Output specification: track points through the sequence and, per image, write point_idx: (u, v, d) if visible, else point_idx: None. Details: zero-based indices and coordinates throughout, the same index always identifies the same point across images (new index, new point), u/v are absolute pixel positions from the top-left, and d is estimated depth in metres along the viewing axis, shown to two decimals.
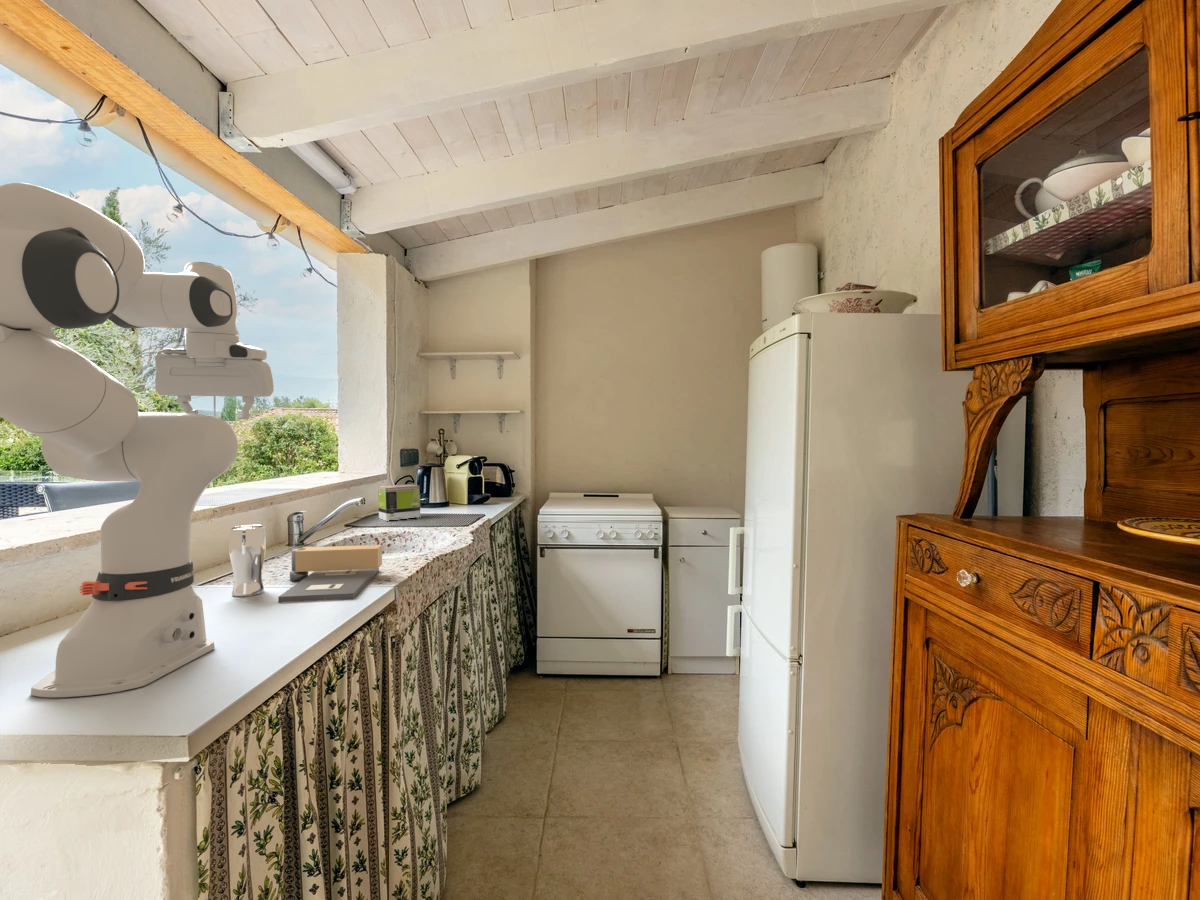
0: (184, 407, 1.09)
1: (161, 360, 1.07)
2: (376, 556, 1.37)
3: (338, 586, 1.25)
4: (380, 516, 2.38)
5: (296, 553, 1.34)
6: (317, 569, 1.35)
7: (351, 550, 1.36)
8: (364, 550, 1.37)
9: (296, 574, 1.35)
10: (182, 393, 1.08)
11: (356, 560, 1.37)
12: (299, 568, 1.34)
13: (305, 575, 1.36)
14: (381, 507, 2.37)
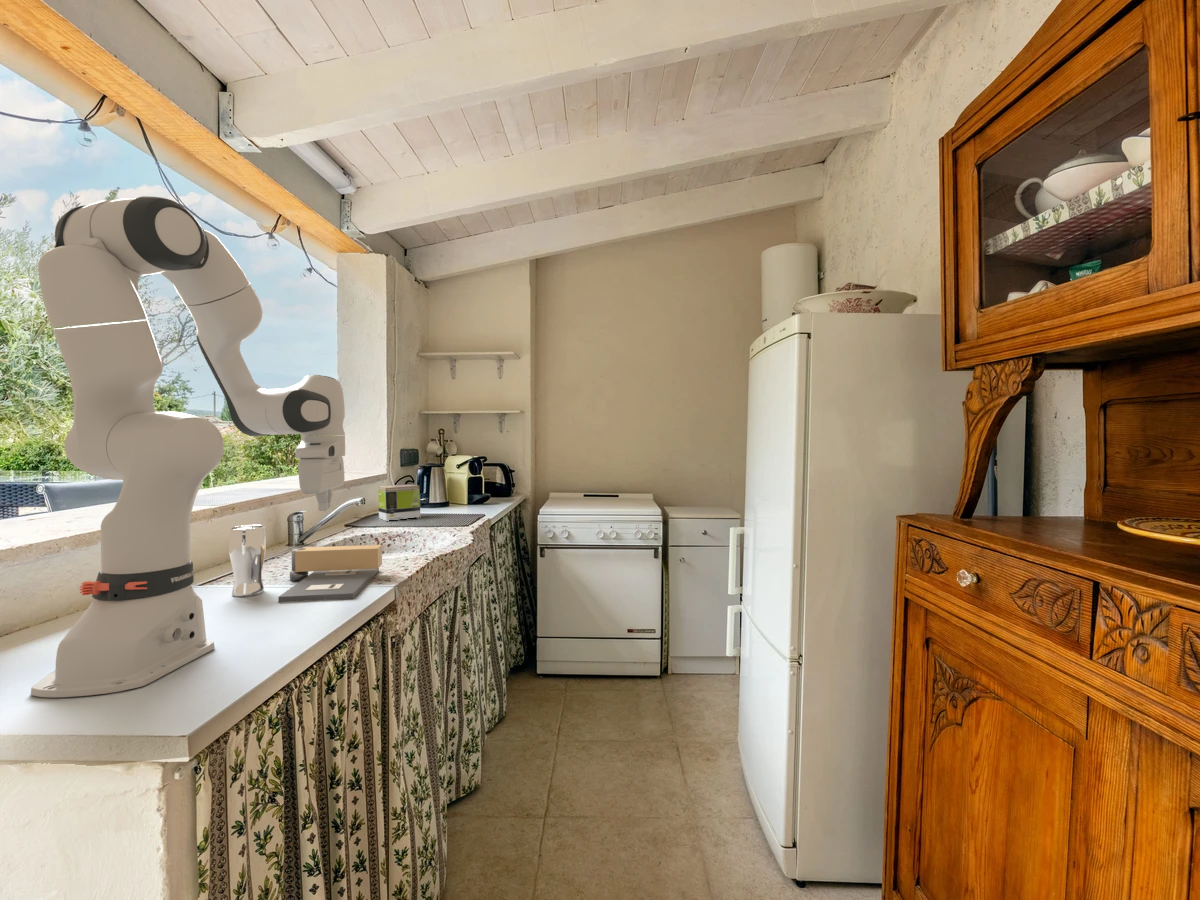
0: None
1: None
2: (376, 556, 1.37)
3: (338, 586, 1.25)
4: (380, 516, 2.38)
5: (296, 553, 1.34)
6: (317, 569, 1.35)
7: (351, 550, 1.36)
8: (364, 550, 1.37)
9: (296, 574, 1.35)
10: None
11: (356, 560, 1.37)
12: (299, 568, 1.34)
13: (305, 575, 1.36)
14: (381, 507, 2.37)
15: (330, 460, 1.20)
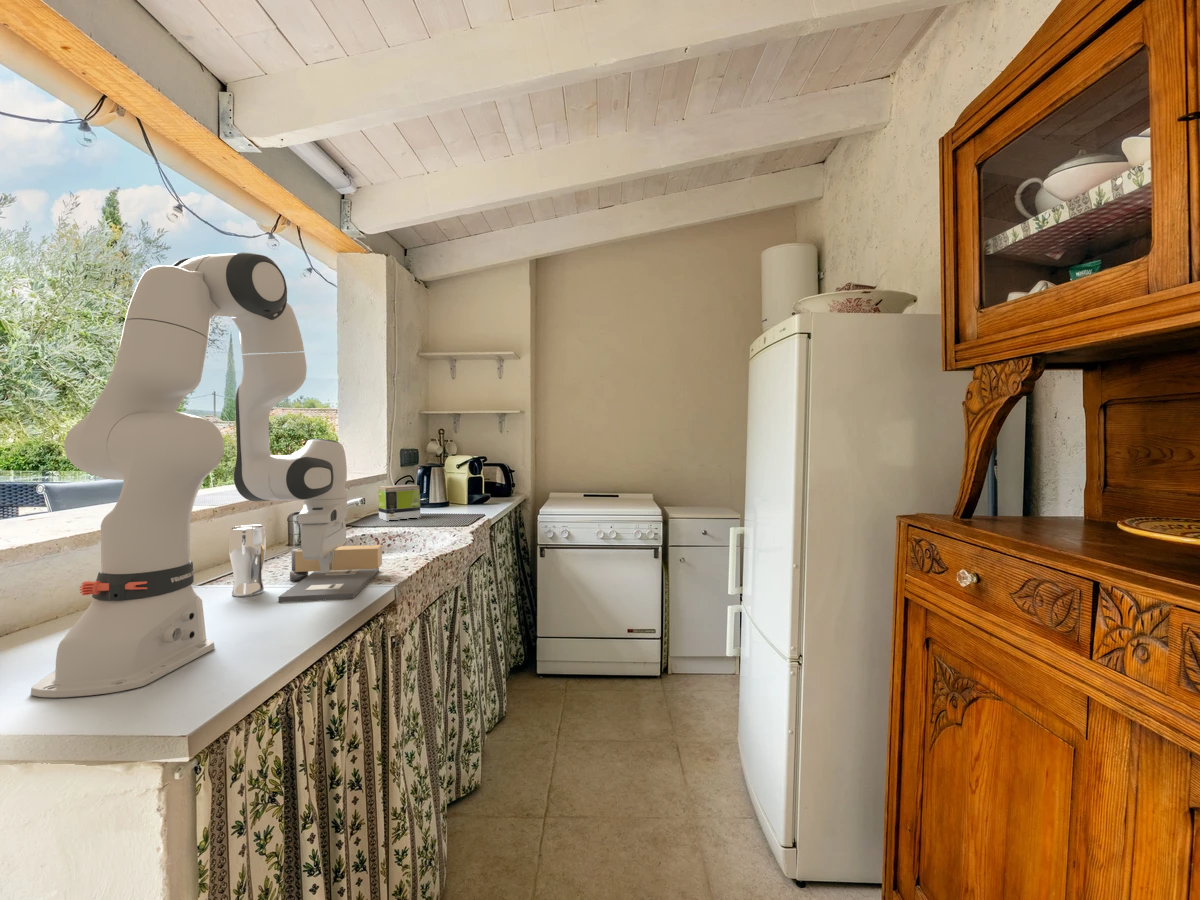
0: None
1: None
2: (376, 556, 1.37)
3: (338, 586, 1.25)
4: (380, 516, 2.38)
5: (296, 553, 1.34)
6: (317, 569, 1.35)
7: (351, 550, 1.36)
8: (364, 550, 1.37)
9: (296, 574, 1.35)
10: None
11: (356, 560, 1.37)
12: (299, 568, 1.34)
13: (305, 575, 1.36)
14: (381, 507, 2.37)
15: (332, 524, 1.21)
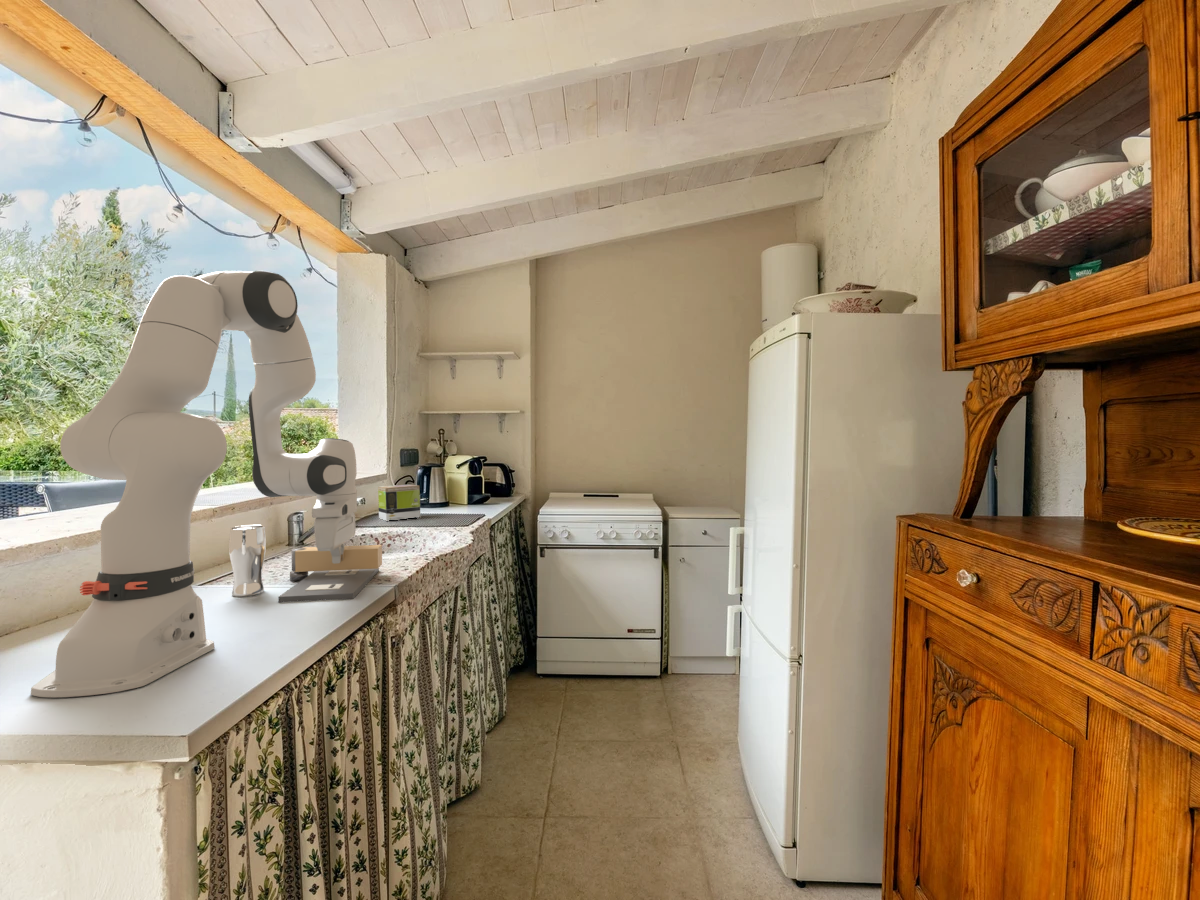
0: None
1: None
2: (376, 556, 1.37)
3: (338, 586, 1.25)
4: (380, 516, 2.38)
5: (296, 553, 1.34)
6: (317, 569, 1.35)
7: (351, 550, 1.36)
8: (364, 550, 1.37)
9: (296, 574, 1.35)
10: None
11: (356, 560, 1.37)
12: (299, 568, 1.34)
13: (305, 575, 1.36)
14: (381, 507, 2.37)
15: (343, 518, 1.29)
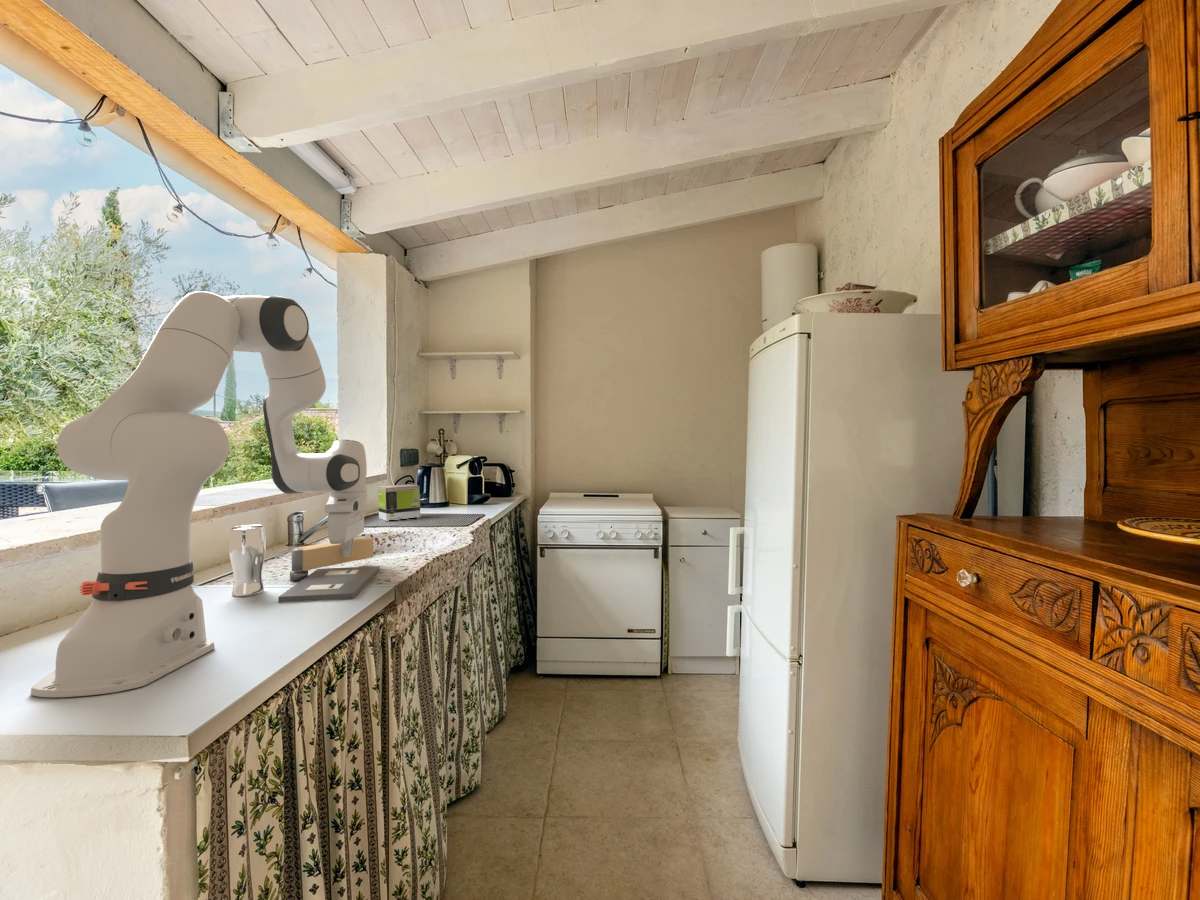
0: None
1: None
2: (372, 546, 1.51)
3: (338, 586, 1.25)
4: (380, 516, 2.38)
5: (305, 552, 1.35)
6: (324, 565, 1.39)
7: None
8: (362, 541, 1.49)
9: (296, 574, 1.35)
10: None
11: (356, 552, 1.47)
12: (308, 566, 1.36)
13: (305, 575, 1.36)
14: (381, 507, 2.37)
15: (354, 514, 1.39)
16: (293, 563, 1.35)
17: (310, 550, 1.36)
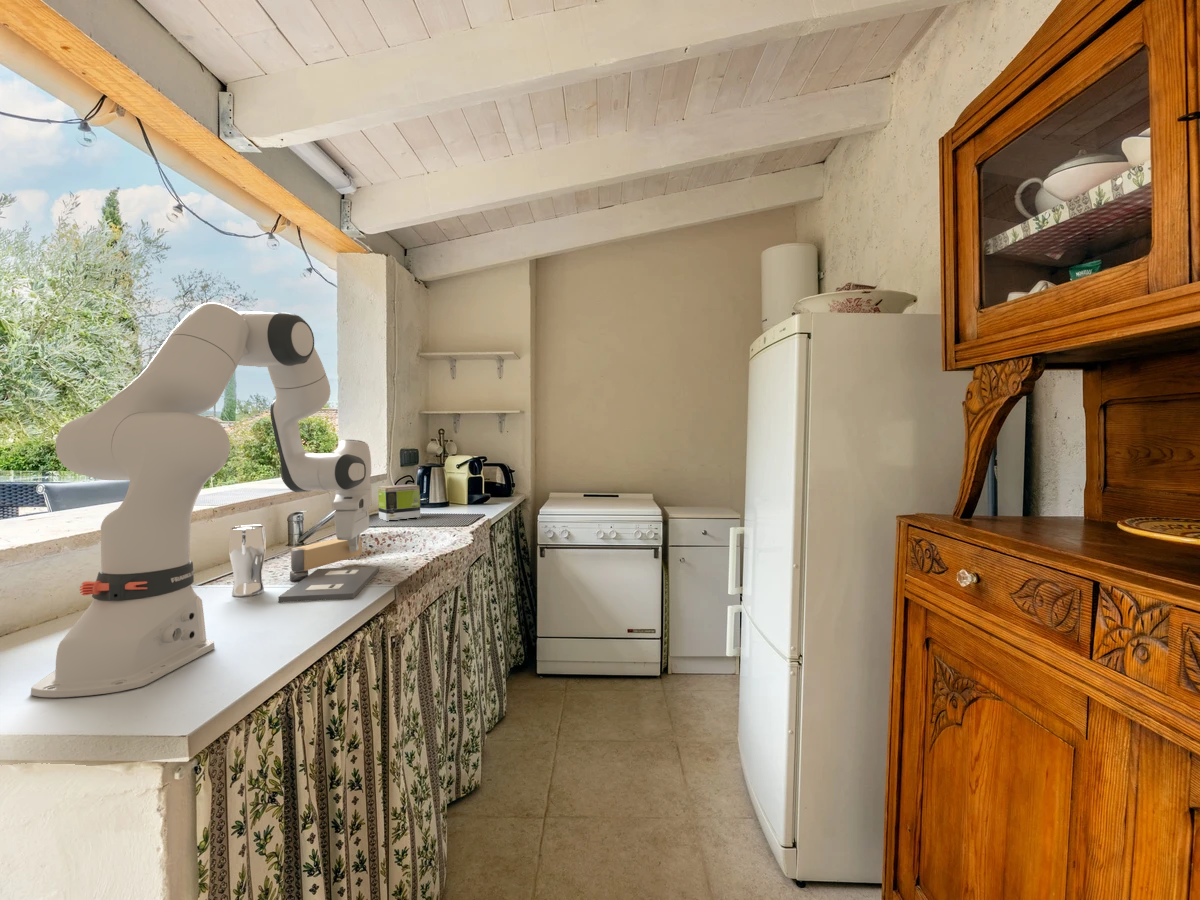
0: None
1: None
2: (360, 544, 1.54)
3: (338, 586, 1.25)
4: (380, 516, 2.38)
5: (307, 551, 1.36)
6: (322, 564, 1.41)
7: (345, 541, 1.48)
8: None
9: (296, 574, 1.35)
10: None
11: (348, 550, 1.49)
12: (310, 566, 1.37)
13: (305, 575, 1.36)
14: (381, 507, 2.37)
15: (360, 511, 1.44)
16: (294, 563, 1.35)
17: (311, 549, 1.37)
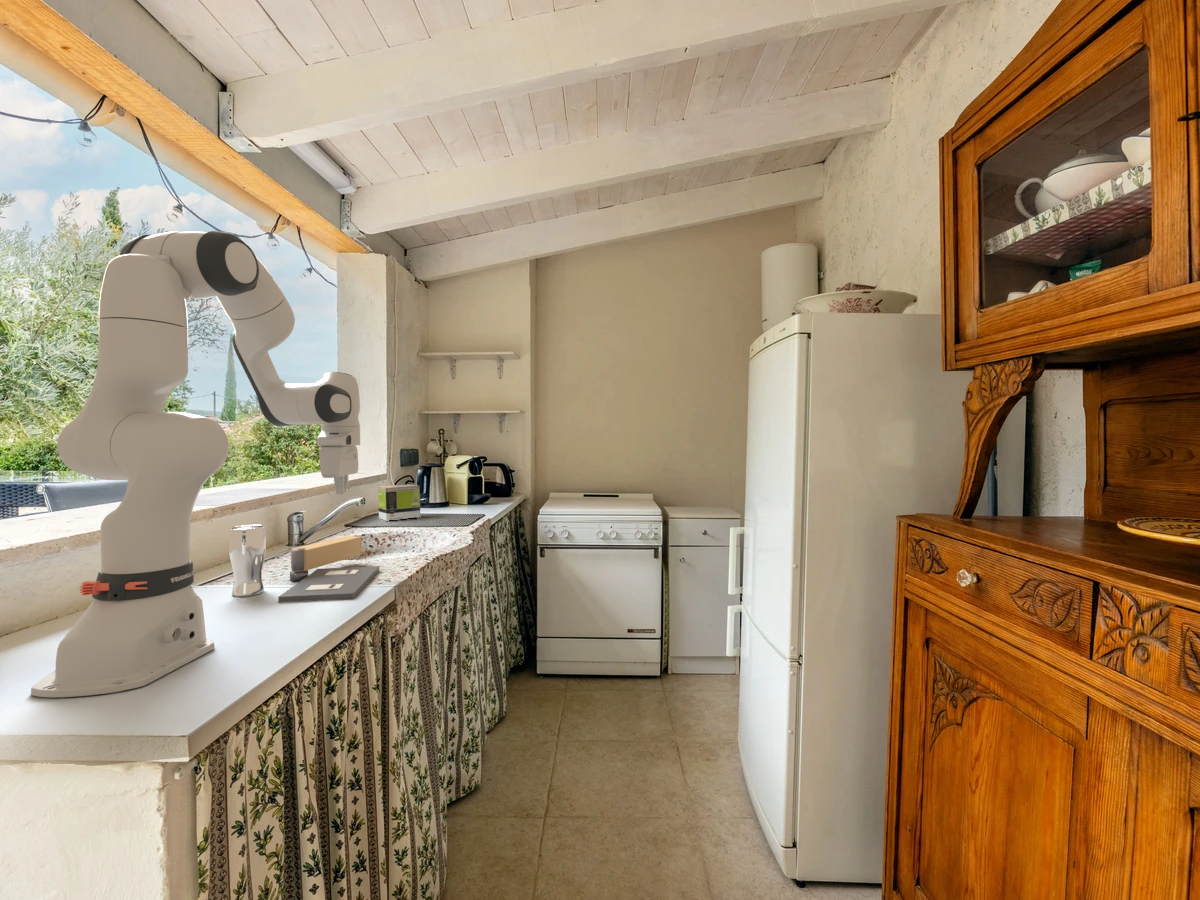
0: None
1: None
2: (360, 544, 1.54)
3: (338, 586, 1.25)
4: (380, 516, 2.38)
5: (307, 551, 1.36)
6: (322, 564, 1.41)
7: (345, 541, 1.48)
8: (353, 540, 1.51)
9: (296, 574, 1.35)
10: None
11: (348, 550, 1.49)
12: (310, 566, 1.37)
13: (305, 575, 1.36)
14: (381, 507, 2.37)
15: (347, 448, 1.33)
16: (295, 563, 1.35)
17: (311, 549, 1.37)
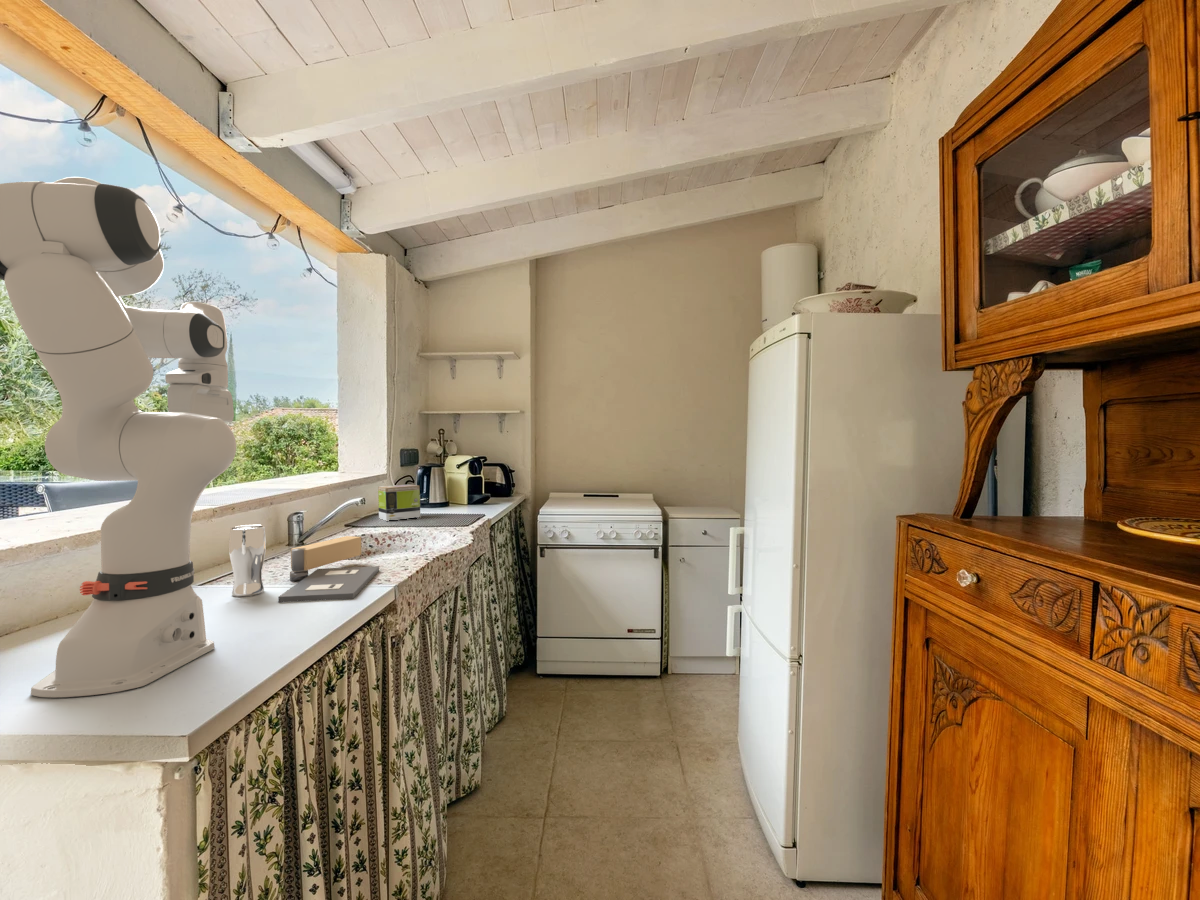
0: None
1: None
2: (360, 544, 1.54)
3: (338, 586, 1.25)
4: (380, 516, 2.38)
5: (307, 551, 1.36)
6: (322, 564, 1.41)
7: (345, 541, 1.48)
8: (353, 540, 1.51)
9: (296, 574, 1.35)
10: None
11: (348, 550, 1.49)
12: (310, 566, 1.37)
13: (305, 575, 1.36)
14: (381, 507, 2.37)
15: (206, 388, 1.17)
16: (295, 563, 1.35)
17: (311, 549, 1.37)
